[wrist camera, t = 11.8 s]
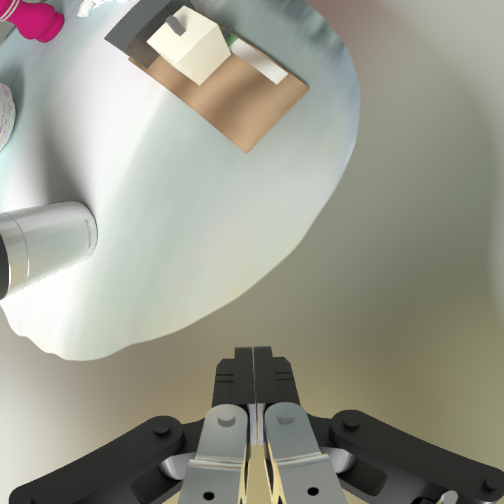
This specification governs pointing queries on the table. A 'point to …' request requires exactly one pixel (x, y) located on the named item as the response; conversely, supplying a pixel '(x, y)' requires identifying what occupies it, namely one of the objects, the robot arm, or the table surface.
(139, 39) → the grey rectangular block
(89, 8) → the white creature statuette
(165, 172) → the table surface
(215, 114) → the brown wooden board
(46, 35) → the pepper mill
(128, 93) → the table surface
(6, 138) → the paper bowls
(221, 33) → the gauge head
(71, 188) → the table surface
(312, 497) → the robot arm
